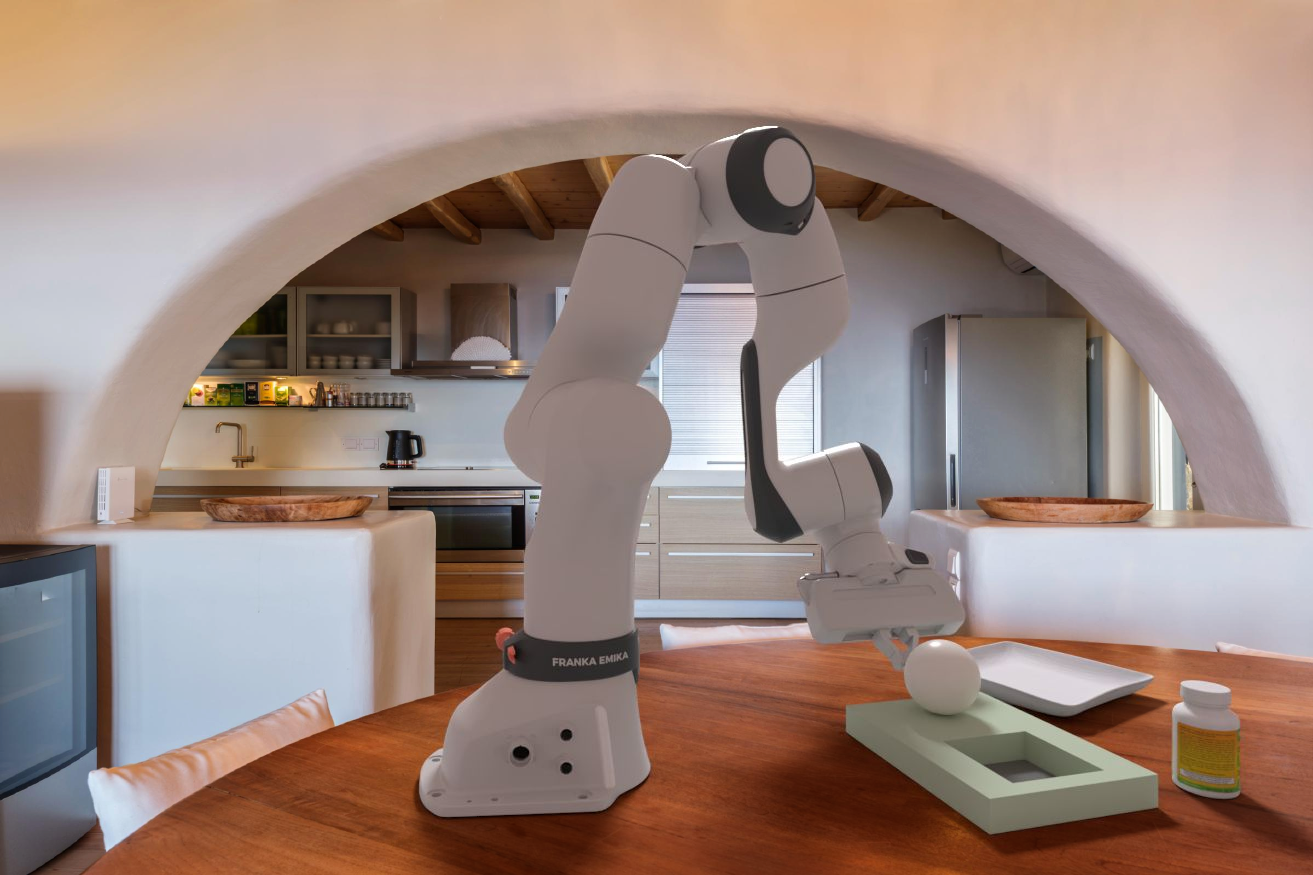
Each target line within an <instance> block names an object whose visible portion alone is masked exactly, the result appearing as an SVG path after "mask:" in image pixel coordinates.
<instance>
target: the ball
mask: <svg viewBox="0 0 1313 875" xmlns="http://www.w3.org/2000/svg"><path fill="white" fill-rule="evenodd" d="M903 677H904V684H905V687H906V690H907V692H908V694H909V695H910V697H911V699H914V700H915V701H916V703H918V704H919V705H920V706H921V707H923V708H924V709H926V710H928V711H930V712H932V713H935V714H940V715H953V714H957V713H960V712H962V711H964V710H966V709H967V708H968V707H970V706H971V705H972V704H973V702H974V701H975V700H976V698H977V696H978V694H979V691H980V686H981V675H980V671H979V668H978V665H977V663H976V661H975V660H974V658H973V657H972V655H971V654H970V653H969V652H968V651H967V650H966V648H965V647H963V646H962V645H960V644H958V643H956V642H953V641H951V640H949V639H947V640H946V639H942V638H941V639H940V638H939V639H938V638H937V639H936V638H935V639H931V640H927V641H925V642H922V643H920V644H918V646H917V647H916V648H915V649H914V650H913V651H912V652H911V653H910V655H909V656H908V658H907V660H906V663H905V667H904V670H903Z"/></svg>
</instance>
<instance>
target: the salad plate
mask: <svg viewBox="0 0 1313 875" xmlns="http://www.w3.org/2000/svg"><path fill="white" fill-rule="evenodd" d="M965 649H966V648H965ZM966 650H967V651H968V652H969V653H970V654H971V655H972V657H973V658H974V660H975V661H976V663H977V665H978V668H979V671H980V675H981V686H980V691H979V692H982V693H984V694H987V695H989V696H991V697H993V698H995V699H997V700H999V701H1002V702H1004V703H1006V704H1010V705H1015V706H1017V707H1022V708H1025V709H1029V710H1032V711H1035V712H1038V713H1042V714H1045V715H1048V716H1049V715H1050V716H1055V717H1071V716H1075V715H1078V714H1080V713H1082V712H1084V711H1086V710H1089V709H1092V708H1094V707H1098V706H1100V705H1102V704H1104V703H1108V702H1110V701H1112V700H1115V699H1119V698H1121V697H1126V696H1129V695H1132V694H1134V693H1136V692H1139V691H1141V690H1143V689H1145V688H1146V687H1147V686H1149V685H1150V684H1151V682H1152V683H1153V681H1154V679H1155V676H1154V675H1153V674H1150V673H1145V672H1141V671H1136V670H1134V669H1128V668H1124V667H1122V666H1121V667H1120V666H1118V665H1117V666H1116V665H1113V664H1110V663H1109V664H1108V663H1105V662H1100V661H1097V660H1093V659H1089V658H1086V657H1085V658H1084V657H1081V656H1078V655H1077V656H1076V655H1073V654H1069V653H1064V652H1060V651H1056V650H1050V649H1047V648H1042V647H1038V646H1033V645H1029V644H1024V643H1019V642H1016V641H1009V640H1008V641H1007V640H1005V641H1004V640H1003V641H999V642H994V643H990V644H985V645H984V644H983V645H979V646H975V647H971V648H967V649H966Z"/></svg>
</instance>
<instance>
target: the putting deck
mask: <svg viewBox="0 0 1313 875" xmlns="http://www.w3.org/2000/svg"><path fill="white" fill-rule="evenodd" d="M845 732H846V733H847V734H848V735H850V737H853V738H854V739H855V740H857V741H858V742H859V743H861V744H862V745H864V746H865V747H866V748H867V749H869V750H871V752H873V753H874V754H876V755H878V756H879V757H881V758H882V759H883V760H884V761H886V762H888V763H889V764H890V765H891V766H893V767H895V768H896V769H898V770H899V771H900V772H901V773H903V774H904V775H905V776H907V777H909V778H910V779H911V780H913V781H914V782H916V783H917V784H919V785H920V786H921V787H922V788H924V789H925V790H926V791H927V792H929V793H930V794H932V795H933V796H935V797H936V798H938V799H940V800H941V801H942V802H943V803H945V804H946V805H948V806H949V807H951V808H952V809H953V810H955V811H956V812H957V813H958V814H960V815H962V816H963V817H964V818H965V819H968V820H969V821H970V822H971V823H973V824H974V825H976V826H977V827H979V828H980V829H981V830H983V831H984V832H986V834H988V835H995V834H996V835H997V834H1002V833H1007V832H1014V831H1020V830H1025V829H1026V830H1027V829H1033V828H1038V827H1039V828H1040V827H1046V826H1051V825H1052V826H1053V825H1057V824H1063V823H1070V822H1075V821H1084V820H1088V819H1089V820H1090V819H1094V818H1095V819H1096V818H1101V817H1106V816H1107V817H1108V816H1113V815H1119V814H1126V813H1132V812H1140V811H1144V810H1151V809H1157V808H1159V773H1156V772H1154V771H1153V770H1150V769H1148V768H1145V767H1143V766H1142V765H1139V764H1138V763H1135V762H1132V761H1130V760H1128V759H1127V758H1123V757H1122V756H1120V755H1119V754H1116V753H1113V752H1111V751H1109V750H1106V749H1104V748H1103V747H1100V746H1098V745H1096V744H1094V743H1092V742H1090V741H1087V740H1085V739H1083V738H1081V737H1079V736H1077V735H1074V734H1072V733H1070V732H1068V731H1066V730H1064V729H1062V728H1059V727H1057V726H1055V725H1053V724H1051V723H1049V722H1046V721H1045V720H1042V719H1040V718H1038V717H1035V716H1034V715H1032V714H1029V713H1028V712H1026V711H1023V710H1020V709H1019V708H1016V707H1014V706H1012V705H1011V704H1009V703H1007V702H1004V701H1001V700H997V699H995V698H993V697H991V696H989V695H987V694H984V693H982V692H979V694H978V696H977V698H976V700H975V701H974V702H973V704H972V705H971V706H970V707H968V708H967V709H966V710H964V711H962V712H960V713H957V714H953V715H940V714H935V713H932V712H930V711H928V710H926V709H924V708H923V707H921V706H920V705H919V704H918V703H916V701H915V700H914V699H913V698H906V699H898V700H887V701H886V700H885V701H878V702H868V703H858V704H848V705H847V704H846V705H845Z"/></svg>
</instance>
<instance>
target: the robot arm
mask: <svg viewBox="0 0 1313 875" xmlns="http://www.w3.org/2000/svg"><path fill="white" fill-rule="evenodd" d="M812 159H813V158H812V157H811V154H810V152H809V150H808V149H807V148H806V146H805V145H804V143H803V142H802V141H801V140H800V139H799V138H798V137H797V135H796V134H795V133H793V132H792V131H791V130H790V129H787V128H785V127H781V126H762V127H760V126H759V127H753V128H749V129H747V130H745V131H744V132H742V133H740V134H738V135H733V136H730V137H726V138H722V139H719V140H717V141H710V142H707V143H705V144H703V145H702V146H699V147H697V148H695V149H693V150H691V151H690V152H688V153H686V154H685V155H683V156H681V157H679V158H674V159H672V158H670V157H667V156H663V155H656V154H644V155H643V154H642V155H639V156H635V157H633V158H631V159H629V160H628V161H626V162H625V163H624V164H623V165H621V167H620V168H619V170H618V171H617V172H616V174H615V176H614V177H613V179H612V181H611V183H610V184H609V187H608V188H607V190H606V192H605V194H604V196H602V200H601V202H600V204H599V205H598V206H599V207H598V209H597V211H596V213H595V215H594V218H593V220H592V222H591V224H590V227H589V231H588V233H587V235H586V236H587V237H586V239H585V242H584V245H583V248H582V252H581V254H580V256H579V259H578V263H577V266H576V269H575V272H574V275H573V278H572V281H571V284H570V287H569V290H568V293H567V297H566V298H565V302H564V304H563V307H562V310H561V312H560V314H559V317H558V319H557V321H556V323H555V325H554V328H553V330H552V331H551V333H550V336H549V338H547V341H546V342H545V344H544V347H543V348H542V350H541V352H540V355H539V356H538V358H537V360H536V362H535V364H534V366H533V369H532V371H531V373H530V375H529V376H528V379H527V381H526V384H525V386H524V388H523V390H522V392H521V394H520V397H519V399H518V400H517V402H516V404H515V405H514V406H513V408H512V409H511V411H510V412H509V413H508V415H507V417H506V421H505V423H504V427H503V444H504V448H505V451H506V453H507V455H508V457H509V460H510V461H511V462H512V463H513V464H514V466H515V467H516V468H517V469H518V470H519V471H520V472H521V473H522V474H524V475H525V476H526V477H527V478H529V480H532V481H533V482H535V483H537V484H540V485H541V488H540V490H541V491H540V497H539V503H538V507H537V512H536V517H535V523H534V526H533V531H532V534H531V536H530V540H529V541H528V543H527V544H526V546H525V548H524V554H523V627H522V628H520V629H519V630H517V631H516V632H514V631H513V629H511V628H509V627H503V628H500V629H498V632H497V633H496V634H495V643H496V646H497V647H498V649H500V650H501V651H502V666H503V668H502V670H500V671H499V672H498V673H497V674H495V675H494V676H493V677H491V679H489V680H488V681H486V682H485V683H484V684H482V685H481V687H479V688H478V689H477V690H475V691H474V692H472V694H470V695H469V696H467V697H466V698H465V699H464V700H462V701H461V702H460V703H459V704H458V705H457V707H456V708H455V709H454V711H453V713H452V715H451V718H450V720H449V722H448V725H447V728H446V733H445V736H444V741H443V747H442V748H439V749H437V750H435V751H434V752H433V753H431V754H430V755H429V756H428V757H427V758H426V760H425V761H424V762H423V764H422V766H421V769H420V772H419V773H420V774H419V783H418V794H419V798H420V801H421V802H422V804H423V806H424V807H425V808H426V809H427V810H428V811H430V812H431V813H433V814H434V815H436V816H438V817H443V818H444V817H445V818H452V817H477V816H478V817H479V816H481V817H482V816H485V817H486V816H504V815H505V816H507V815H510V816H511V815H533V814H534V815H535V814H539V815H540V814H561V813H563V814H564V813H585V812H586V813H588V812H589V813H591V812H599V811H600V812H602V811H603V810H606V809H607V808H610V806H612V804H614V802H615V801H616V799H617V798H618V797H619V796H620V795H622V794H624V793H626V792H627V791H629V790H632V789H633V788H635V787H636V786H638V785H639V784H641V783H642V782H643V781H644V780H645V779H647V777H648V776H649V774H650V771H651V762H650V759H649V756H648V752H647V748H646V744H645V740H644V736H643V732H642V724H641V719H640V712H639V711H640V710H639V704H638V692H637V684H638V683H639V674H640V671H641V670H640V669H641V668H640V666H641V662H640V660H641V657H640V656H641V655H640V654H641V647H640V646H641V644H640V637H639V628H637V627H636V626H635V580H636V578H635V576H636V573H635V572H636V570H635V569H636V552H637V547H638V546H637V544H638V538H639V533H640V527H641V523H642V519H643V517H644V516H643V515H644V511H645V507H646V503H647V499H648V496H649V492H650V489H651V487H652V484H653V481H654V480H655V478H656V477H657V475H658V474H659V473H660V472H661V470H662V469H663V468H664V466H665V464H666V462H667V460H668V458H669V455H670V452H671V449H672V448H671V447H672V439H673V432H672V424H671V421H670V420H671V419H670V417H669V415H668V412H667V410H666V408H665V407H664V405H663V404H662V402H661V401H660V400H659V398H657V396H656V395H654V394H653V393H652V392H651V391H649V390H648V389H646V388H644V387H642V386H639V385H638V383H640V382H639V381H640V379H641V378H642V377H643V375H644V373H645V371H646V370H647V368H648V367H649V366H650V364H651V363H652V361H654V359H655V358H656V357H657V356H658V355H659V354H660V353H661V352H662V350H663V348H664V347H665V344H666V342H667V340H668V336H669V333H670V329H671V326H672V323H673V319H674V317H675V313H676V311H677V307H678V305H679V300H680V298H681V294H682V291H683V287H684V284H685V281H686V277H687V275H688V272H689V267H690V263H691V260H692V255H693V252H694V251H693V250H698V249H702V248H704V247H707V246H715V245H722V244H734V243H737V245H738V246H739V247H740V249H742V251H743V252H744V254H745V255H746V257H747V259H748V265H749V272H750V279H751V284H752V287H753V293H754V297H755V302H756V303H755V304H756V320H755V326H754V329H753V333H752V336H751V338H750V339H749V340H748V341H747V342H746V343H744V345H743V346H742V348H741V354H740V364H739V378H740V400H741V401H740V402H741V404H740V405H741V419H742V435H743V438H742V439H743V448H744V449H743V450H744V488H743V489H744V491H743V502H744V510H745V512H746V516H747V519H748V522H749V524H750V525H751V527H752V530H753V531H754V532H755V533H757V534H758V535H760V536H761V537H764V538H765V539H767V540H770V541H773V542H776V543H777V544H778V543H779V544H783V543H786V542H788V541H791V540H794V539H796V538H799V537H802V536H804V535H805V534H807V533H811V532H812V534H813V536H814V539H815V540H816V542H817V544H818V545H819V546H820V547H821V548H822V550H823V559H824V562H825V566H826V568H827V570H828V571H825V572H820V573H814V572H809V573H804V575H803V576H802V577H800V578H799V579H798V580H797V582H796V589H797V592H798V595H799V597H800V600H801V601H802V602H803V603H804V604H803V606H804V611H805V616H806V617H805V618H806V620H807V625H808V629H809V633H810V635H811V637H812V639H814V640H815V641H816V642H817V643H819V644H820V645H834V644H847V643H856V642H857V643H859V642H860V643H861V642H869V641H870V642H871V641H872V642H873V644H874V647H875V649H877V650H878V651H879V652H880V653H881V654H883V655H884V656H885V657H886V658H887V659H888V660H890V663H891V665H892V667H893V669H894V670H895V671H904V667H905V663H906V660H907V658H908V656H909V655H910V653H911V652H912V651H913V650H914V649H915V648H916V647H917V646H918V645H919V641H920V638H922V637H924V638H925V637H934V636H935V637H938V636H951V635H954V634H955V633H956V632H957V631H958V630H959V629H960V628H961V626H963V624H964V623H965V620H966V610H965V608H964V606H963V604H962V601H961V600H960V599H959V597H958V595H957V593H956V591H955V590H954V588H953V587H952V585H951V583H950V582H949V581H948V580H947V578H946V577H945V576H944V575H943V574H942V573H940V572H939V571H937V570H935V567H936V565H937V562H936V559H935V557H934V556H933V554H932V553H929V552H928V551H927V552H926V551H923V550H918V549H914V548H911V547H907V546H903V545H901V544H898V543H896V542H892V541H890V540H889V537H888V536H887V535H886V534H885V533H884V532H883V530H882V528H881V527H880V524H879V521H880V520H881V519H882V518H883V517H884V516H885V515H886V512H887V509H888V508H889V506H890V503H891V501H892V498H893V495H894V488H893V481H892V478H891V477H890V473H889V472H888V469H887V468H886V466H885V463H884V462H883V459H882V457H881V455H880V454H879V453H878V452H877V451H875V449H873V448H871V447H870V446H868V445H866V444H864V443H862V442H859V441H855V442H848V443H845V444H839V445H836V446H832V447H829V448H825V449H822V450H820V451H816V452H812V453H809V454H806V455H803V456H802V455H801V456H798V457H796V458H795V457H794V458H792V459H788V460H779V451H778V450H779V447H778V446H779V445H778V428H777V401H778V399H779V395H780V394H781V392H782V390H783V388H784V387H785V386H786V385H788V383H789V382H790V381H791V380H792V379H793V378H794V377H795V376H797V374H799V373H800V372H802V371H803V370H804V369H805V368H807V367H809V365H811V364H812V363H814V362H816V361H817V360H818V359H820V358H822V356H824V355H825V354H826V353H827V352H828V351H829V350H830V349H832V347H833V346H834V345H835V344H836V343H837V342H838V341H839V340H840V338H841V336H842V335H843V334H844V332H845V330H846V328H847V326H848V324H849V320H850V317H851V300H850V293H849V286H848V281H847V276H846V272H845V268H844V267H845V266H844V264H843V259H842V255H841V252H840V248H839V244H838V242H837V238H836V235H835V231H834V228H833V227H832V224H831V222H830V219H829V216H828V214H827V212H826V210H825V208H824V205H823V203H822V201H821V200H820V199H819V198H818V197H817V196H816V192H817V191H816V190H817V184H816V183H817V181H816V172H815V166H814V163H813V160H812ZM896 639H897V640H898V639H899V642H900V643H901V645H902V646H906V649H905V650H903V649H902V650H901V649H899V647H898V646H897V645H896V644H895V643H894V642H893V641H892V640H896Z"/></svg>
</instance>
